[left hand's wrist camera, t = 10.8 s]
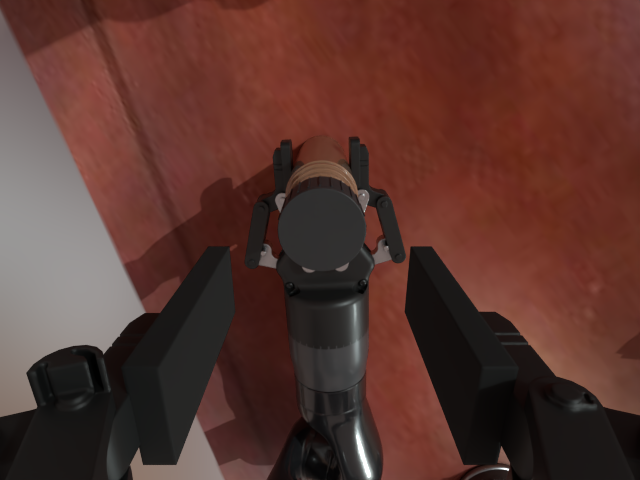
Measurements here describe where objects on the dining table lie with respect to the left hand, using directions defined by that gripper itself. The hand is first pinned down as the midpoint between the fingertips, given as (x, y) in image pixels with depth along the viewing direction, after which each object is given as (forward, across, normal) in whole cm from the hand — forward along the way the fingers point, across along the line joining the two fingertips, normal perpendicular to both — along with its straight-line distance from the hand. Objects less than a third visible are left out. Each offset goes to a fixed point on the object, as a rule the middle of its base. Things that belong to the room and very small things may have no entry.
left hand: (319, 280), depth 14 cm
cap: (+7, 0, 0) cm, 7 cm away
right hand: (+18, 0, -3) cm, 18 cm away
